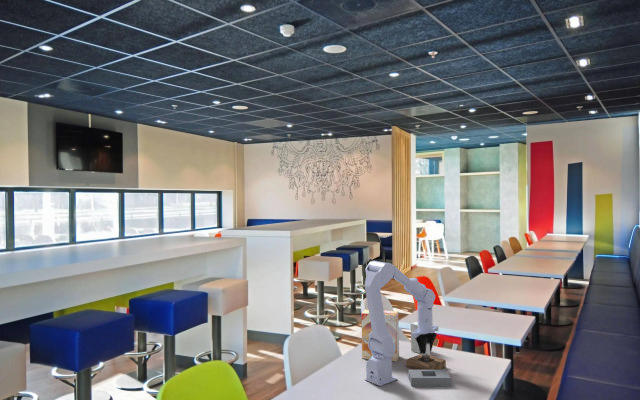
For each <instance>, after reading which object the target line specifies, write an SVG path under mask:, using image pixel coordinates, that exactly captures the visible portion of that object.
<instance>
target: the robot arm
mask: <svg viewBox="0 0 640 400" xmlns="http://www.w3.org/2000/svg"><path fill="white" fill-rule="evenodd" d="M364 270H365V276H366V277H365V281H364V291H365V297H366V302H367V308H368V309H367V310H369V315H370V321H371V327H372V332H371V333H370V334H369V342H368V347H369V349H370V350H371V354H372V357H371V359H367V360H366V362H365V363H366V365H365V366H366V367H365V368H366V370H365V371H366V378H364V380H365V381H367V382H369V383H372V384H374V385H377V386H384V385H387V384H389V383H392V382H393V381H397V380H398V378H397V377H396V376H393V361H392V357H393V355H394V353H395V351H396V345H395V343H394V342H393V339H392V336H391V334H390V333H389V332H388V331H387V327H386V321H385V315H384V311H385V310H384V304H383V299H382V292H381V289H382V288H383V287H385V286H386V285H387V283H389V282H390V281H391V280H392V279H393V280H395V281H396V282H398V283H400V284H401V285H402V286H403V288H404V290H405V291H406V292H407V293H408V294H410V295H411V296H413V298H414V300H415V301H417V322H418V329H416V330H415V331H413V332H412V337H414V338H415V339H416V341H417V343H418V346H419V350H420V353H419V354H422V353H423V354H425V353H426V343H427V342H429V343H430V353H431V352H432V350H433V345H434V343H435V340H436V338H437V336H438V335H437V333H436V332H439V325H436V324H434V325H433V323H434V322H433V307H434V302H435V300H436V295H435V293H434V291H433V289H430V288H427V287H426V285H425V284H423V283H421V282H419V279H418V278H415V277H411V278H410V277H408V276H407V275H406V274H405V273H403V272H402V271H401V270H400V269H398V268H397V266H396V265H393V264H392V263H390V262H382V261H378V260H370V261H369V263H368V264H367V266H366V267H365V269H364Z"/></svg>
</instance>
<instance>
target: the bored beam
mask: <svg viewBox="0 0 640 400" xmlns="http://www.w3.org/2000/svg"><path fill="white" fill-rule="evenodd" d="M407 371H408V375H407V376H408V380H409V383H410V386H411V387H451V386H452V383H451V382H452V378H451V376H450V374H449V373H448V371H447V369H441V370H414V369H407Z"/></svg>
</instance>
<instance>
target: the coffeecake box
mask: <svg viewBox="0 0 640 400" xmlns="http://www.w3.org/2000/svg"><path fill="white" fill-rule="evenodd" d="M384 315H385V321H386V327H387V331H388V332H389V333H390V334H391V336H392V339H393V342H394V343H395V345H396V351H395V353H394V355H393V357H392V362H398V359H399V357H400V332H399V331H400V330H399V329H400V326H399V325H400V324H399V323H400V322H399V321H400V320H399V317H400V316H399V310H397V311H395V310H384ZM371 332H372V327H371V321H370V315H369V309H364V310H363V311H362V312H361V357H362V358H361V359H363V360H369V359H371V357H372V354H371V350H370V349H369V347H368V342H369V334H370V333H371Z"/></svg>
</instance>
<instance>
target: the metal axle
mask: <svg viewBox="0 0 640 400" xmlns="http://www.w3.org/2000/svg"><path fill="white" fill-rule="evenodd" d="M421 354H422V362H425V363H429V362H430V355H431V352H430V343H429V342H427V343H426V353H425V354H423V353H421Z"/></svg>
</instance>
